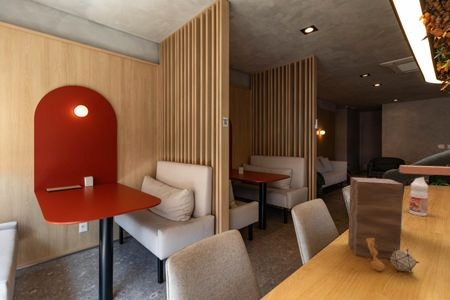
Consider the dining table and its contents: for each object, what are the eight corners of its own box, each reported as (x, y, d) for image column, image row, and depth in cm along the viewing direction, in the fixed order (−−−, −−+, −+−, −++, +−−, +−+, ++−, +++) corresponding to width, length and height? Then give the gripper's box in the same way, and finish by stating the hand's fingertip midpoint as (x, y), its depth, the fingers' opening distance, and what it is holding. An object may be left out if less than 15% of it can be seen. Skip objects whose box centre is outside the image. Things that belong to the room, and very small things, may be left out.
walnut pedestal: (348, 243, 107) (350, 177, 106) (386, 248, 103) (389, 179, 102) (355, 256, 96) (358, 181, 94) (399, 261, 91) (403, 184, 90)
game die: (395, 279, 86) (377, 254, 89) (408, 267, 89) (390, 243, 92) (417, 280, 78) (396, 252, 81) (430, 267, 81) (409, 241, 84)
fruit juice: (429, 217, 148) (431, 175, 147) (411, 214, 152) (413, 174, 151) (424, 213, 156) (426, 173, 155) (407, 211, 161) (409, 172, 160)
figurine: (381, 277, 81) (383, 244, 80) (362, 270, 85) (363, 239, 84) (385, 268, 87) (387, 237, 86) (367, 262, 91) (368, 233, 91)
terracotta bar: (399, 172, 97) (399, 165, 97) (462, 174, 91) (462, 167, 91) (403, 173, 94) (403, 166, 94) (469, 176, 88) (469, 168, 88)
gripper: (486, 180, 93) (443, 158, 97) (520, 186, 80) (469, 161, 83) (474, 194, 95) (432, 172, 98) (505, 203, 81) (456, 177, 85)
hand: (449, 167), depth 91 cm, fingers closed on terracotta bar, 3 cm apart
